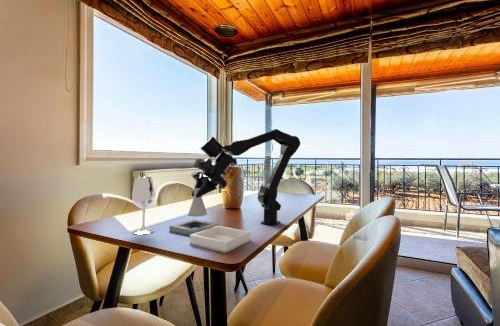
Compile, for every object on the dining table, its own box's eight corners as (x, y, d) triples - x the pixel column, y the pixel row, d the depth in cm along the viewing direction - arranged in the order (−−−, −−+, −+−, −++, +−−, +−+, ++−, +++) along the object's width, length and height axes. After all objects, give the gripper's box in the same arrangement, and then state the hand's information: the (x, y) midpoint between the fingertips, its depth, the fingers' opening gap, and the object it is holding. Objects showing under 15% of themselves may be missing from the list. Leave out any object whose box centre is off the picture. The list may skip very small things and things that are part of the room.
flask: (202, 217, 94) (202, 190, 93) (184, 216, 95) (184, 189, 95) (210, 213, 101) (210, 187, 101) (192, 212, 102) (192, 187, 102)
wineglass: (146, 227, 101) (147, 176, 101) (159, 231, 97) (159, 177, 97) (127, 232, 95) (127, 177, 95) (139, 236, 91) (140, 178, 90)
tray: (217, 233, 95) (217, 225, 95) (250, 240, 88) (250, 231, 88) (189, 244, 83) (189, 234, 83) (225, 253, 76) (225, 242, 76)
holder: (193, 224, 108) (193, 219, 108) (218, 229, 101) (219, 223, 101) (169, 231, 97) (169, 226, 97) (195, 237, 90) (195, 231, 90)
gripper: (195, 151, 107) (169, 180, 101) (219, 150, 93) (191, 184, 86) (212, 170, 112) (188, 198, 106) (237, 172, 98) (212, 205, 91)
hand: (194, 196), depth 97 cm, fingers closed on flask, 3 cm apart
